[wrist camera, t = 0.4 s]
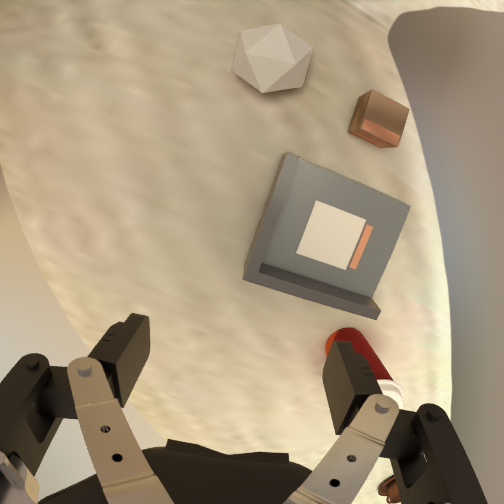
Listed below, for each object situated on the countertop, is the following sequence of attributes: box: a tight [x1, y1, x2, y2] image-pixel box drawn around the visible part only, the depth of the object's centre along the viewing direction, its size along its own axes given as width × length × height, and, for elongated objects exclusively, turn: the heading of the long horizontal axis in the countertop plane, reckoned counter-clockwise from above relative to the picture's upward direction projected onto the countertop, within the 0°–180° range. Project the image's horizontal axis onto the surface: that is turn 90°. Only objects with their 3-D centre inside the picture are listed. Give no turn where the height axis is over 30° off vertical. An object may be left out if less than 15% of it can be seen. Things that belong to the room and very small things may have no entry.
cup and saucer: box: [378, 476, 401, 504], centre depth 54 cm, size 12×12×6 cm
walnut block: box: [348, 90, 409, 148], centre depth 32 cm, size 5×5×5 cm
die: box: [231, 23, 314, 93], centre depth 29 cm, size 8×9×10 cm
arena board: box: [243, 152, 411, 320], centre depth 36 cm, size 15×18×5 cm
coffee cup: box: [326, 328, 403, 409], centre depth 36 cm, size 8×8×15 cm
